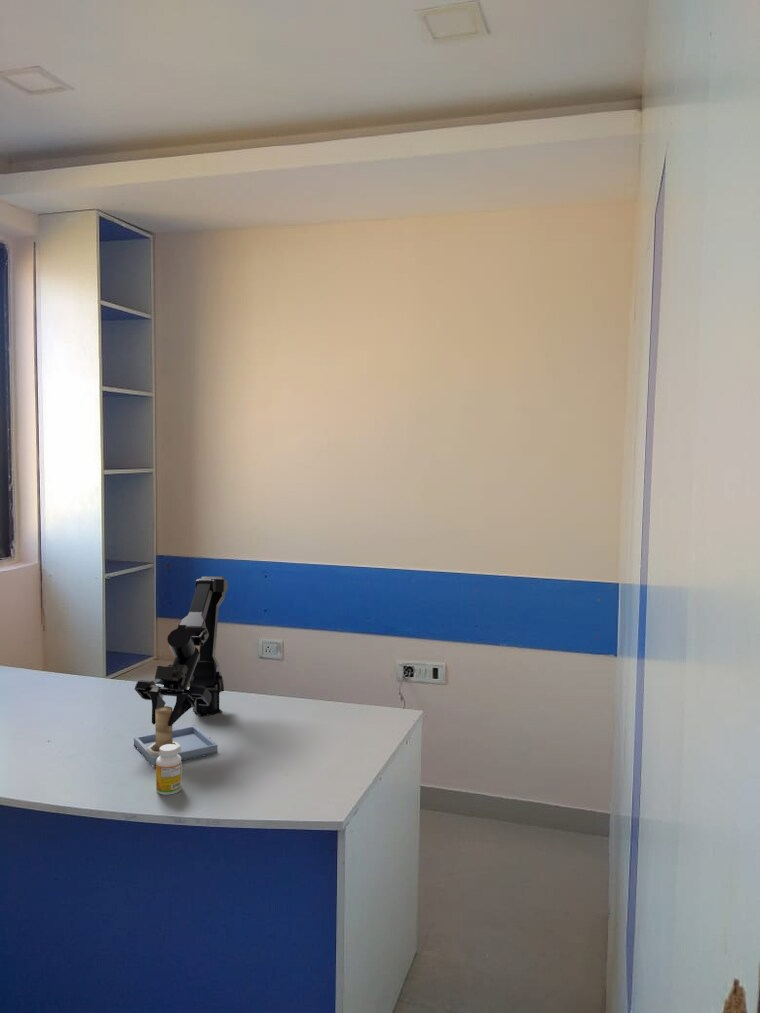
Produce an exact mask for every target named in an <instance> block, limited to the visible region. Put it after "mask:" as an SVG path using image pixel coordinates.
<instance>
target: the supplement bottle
mask: <svg viewBox="0 0 760 1013" xmlns="http://www.w3.org/2000/svg"><path fill="white" fill-rule="evenodd" d="M159 753H160V756H159V757H158V758H157V760H156V766H155V770H156V771H155V777H156V778H155V779H156V780H155V781H156V782H155V784H156V786H155V787H156V788H155V789H156V790H155V791H156V792H157V793H158V794H160V795H164V796H168V795H169V796H170V795H174V794H177V793H179V792H180V791H181V790H182V787H183V786H182V782H183V781H182V779H183V778H182V761H181V757H180V755H178V746H177V745H175V744H166V745H163V746H161V747H160V749H159Z"/></svg>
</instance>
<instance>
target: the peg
mask: <svg viewBox="0 0 760 1013" xmlns="http://www.w3.org/2000/svg"><path fill="white" fill-rule="evenodd" d="M172 711H173V707H171V706H167V705H166V706H163V707H158V708H156V709H155V724H154V725H155V730H154V731H155V733H156V751H157V752H159V749H160V747H161V746H163V745H166V744H173V731H172V730H173V725H172V726H169V725H168V722H169V719H170V716H171V714H172Z"/></svg>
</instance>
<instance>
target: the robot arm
mask: <svg viewBox="0 0 760 1013" xmlns="http://www.w3.org/2000/svg"><path fill="white" fill-rule="evenodd" d="M194 587H195V589H194V590H195V591H194V594H193V597H192V600H191V604H190V607H189V611H188V614H187V615H186V616H185V617H184V618H182V619H181V621H180V623H179V624H178V625H177V628H175V629H173V630H172V631H170V633H169V634H168V635H167V638H166V640H167V644H168V646H169V649H170V651H171V652H172V653H171V654H172V655H173V656H174V659H173V662H172V664H169V665H168V666H167V665H157V666H156V670H155V675H154V679H155V680H157V679H158V680H159V683H160V684H161V685H162V686H159V685H157V684H156V683H155V682H154V681H153V680H145V679H144V680H143V679H140V680H138V681H137V682H136V684H135V686H134V691H135V692H136V693H137V694H138V695H139V696H140V698H142V699H143V700H147V701H151V724H152V725H155V709H156V708H158V707H163V706H165V705H166V701H165V700H164V696H168V697H169V696H170V697H176V699H175V704H174V707H173V708H172V714H171V716H170V719H169V722H168V725H169V726H172V727H173V725H174V724H175V723H176V721H178V720H179V719H180V718H181V717H182V716H184V714H185V713H187V712H188V711H189V710H190V709H192V711H193V712H194V713H196V714H197V715H198V716H200V717H204V716H209V715H215V714H219V713H220V714H221V713H222V712H223V711H222V709H220V694H221V692H224V691H225V681H224V677H223V674H222V671H221V666H220V664H219V662H218V660H217V659H216V650H217V635H218V622H219V611H220V609H219V608H220V606H221V604H222V603H223V602H224V600H225V599H226V593H227V592H228V589H229V582H228V580H227V579H225V577H224V576H222V575H221V576H219V575H217V576H216V575H213V576H212V575H203V576H201V577H200V578H197V579H195V586H194ZM196 646H197V647H199V649H198V648H197V647H196ZM188 687H189V688H188Z"/></svg>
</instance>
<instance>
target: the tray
mask: <svg viewBox="0 0 760 1013" xmlns="http://www.w3.org/2000/svg"><path fill="white" fill-rule="evenodd" d="M172 731H173V744H175V745H177V746H178V755H180V757H181V760H183V761H186V760H185V759H187V760H191V759H190V758H192V759H195V757H196V758H200V756H201V757H204V756H203V755H205V756H209V755H208V754H210V755H213V754H218V752H219V751H218V744H217V743H216V742H215V741H214V740H212V739H211V738H210V737H209V736H207V734H205V733H204V732H203V731H201V729H199V728H198V727H197V726H196V725H189V726H184V727H180V728H175V729H172ZM134 745H135V746H136V747H137V748H138V749H137V748H136V747H135V746H134ZM133 746H134V747H135V748H136V749H137V750H138V751H139V752H140V753H141V755H142V754H143V755H144V756H145V757H146V758H145V757H144V756H143V757H144V758H145V759H146V760H147V761H148V762H149V764H150V765H151V764H152V765H153V766H155V767H156V760H157V758H158V757H159V756H160V753H159V752H157V751H156V732H154V733H149V734H144V735H138V736H135V737H133ZM152 765H151V766H152ZM153 766H152V767H153Z"/></svg>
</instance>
